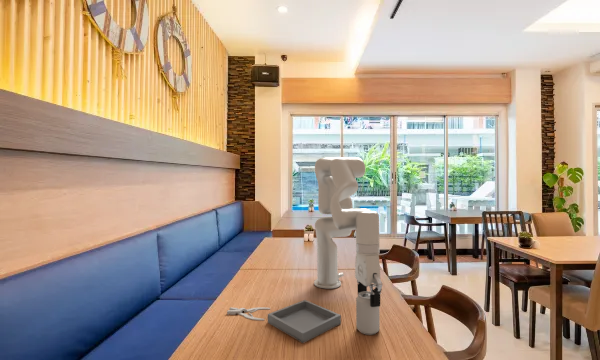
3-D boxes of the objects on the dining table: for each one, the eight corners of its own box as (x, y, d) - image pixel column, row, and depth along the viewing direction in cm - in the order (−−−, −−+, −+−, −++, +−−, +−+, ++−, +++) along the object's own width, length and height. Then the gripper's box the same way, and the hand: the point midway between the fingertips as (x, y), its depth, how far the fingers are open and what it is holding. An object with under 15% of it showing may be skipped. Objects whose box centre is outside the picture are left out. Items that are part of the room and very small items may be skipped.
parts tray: (305, 307, 119) (305, 299, 118) (340, 323, 105) (340, 314, 105) (267, 322, 106) (267, 314, 106) (302, 343, 93) (302, 333, 93)
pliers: (263, 317, 108) (223, 315, 110) (264, 321, 108) (223, 319, 110) (270, 305, 118) (232, 303, 120) (270, 309, 118) (233, 307, 120)
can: (364, 322, 106) (364, 288, 106) (383, 330, 101) (383, 294, 100) (351, 330, 101) (351, 294, 101) (371, 338, 95) (371, 300, 95)
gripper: (347, 244, 108) (347, 292, 108) (368, 255, 91) (369, 312, 91) (366, 242, 109) (367, 290, 109) (391, 253, 93) (392, 310, 92)
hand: (368, 300), depth 100 cm, fingers open, 9 cm apart
